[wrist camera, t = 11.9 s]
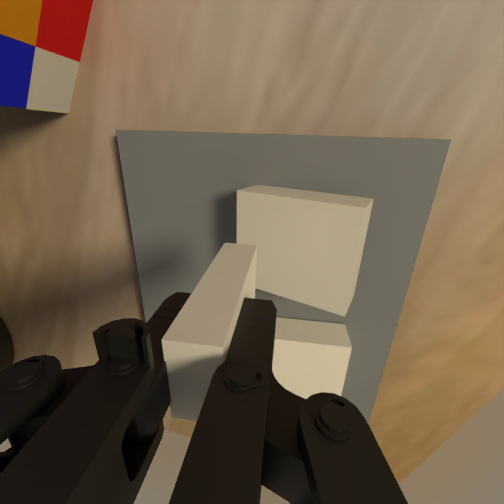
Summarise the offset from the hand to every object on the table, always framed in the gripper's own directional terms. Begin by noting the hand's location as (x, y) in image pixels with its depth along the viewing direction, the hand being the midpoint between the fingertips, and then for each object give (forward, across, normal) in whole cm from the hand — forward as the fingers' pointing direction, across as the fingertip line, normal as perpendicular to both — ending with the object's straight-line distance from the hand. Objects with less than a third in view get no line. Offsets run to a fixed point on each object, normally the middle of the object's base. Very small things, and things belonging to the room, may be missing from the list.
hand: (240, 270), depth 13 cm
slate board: (+8, +1, -6) cm, 10 cm away
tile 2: (+5, 0, -10) cm, 11 cm away
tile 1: (+5, 0, 0) cm, 5 cm away
